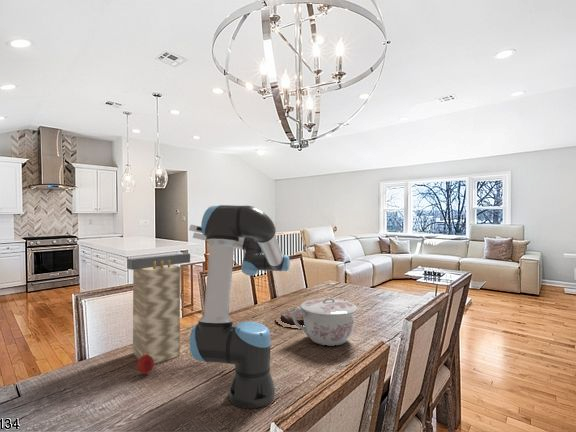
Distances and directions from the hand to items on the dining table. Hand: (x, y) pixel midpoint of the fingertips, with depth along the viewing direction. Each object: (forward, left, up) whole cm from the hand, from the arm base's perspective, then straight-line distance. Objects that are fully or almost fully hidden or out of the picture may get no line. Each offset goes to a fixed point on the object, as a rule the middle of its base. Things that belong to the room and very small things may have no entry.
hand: (191, 231), depth 154 cm
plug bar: (-17, +4, -14) cm, 22 cm away
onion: (-35, -4, -52) cm, 63 cm away
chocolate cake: (+43, -42, -53) cm, 80 cm away
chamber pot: (+20, -63, -52) cm, 85 cm away
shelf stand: (-20, +4, -52) cm, 56 cm away
